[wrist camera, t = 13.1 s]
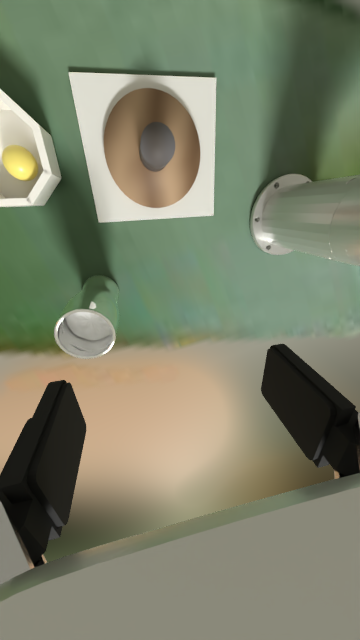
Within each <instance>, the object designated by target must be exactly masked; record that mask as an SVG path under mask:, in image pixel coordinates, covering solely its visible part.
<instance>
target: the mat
mask: <svg viewBox="0 0 360 640" xmlns="http://www.w3.org/2000/svg"><path fill="white" fill-rule="evenodd" d="M68 73H69V78H70V83H71V87H72V92H73V97H74V102H75V107H76V112H77V117H78V122H79V127H80V132H81V137H82V142H83V147H84V152H85V157H86V162H87V167H88V172H89V177H90V182H91V186H92V191H93V196H94V201H95V206H96V211H97V216H98V221H99V223H100V222H116V221H132V220H148V219H164V218H180V217H196V216H212V215H214V165H215V116H216V78H209V77H183V76H158V75H132V74H107V73H81V72H68ZM141 88H154V89H158V90H161V91H164V92H166V93H168V94H170V95H171V96H173V97H174V98H176V99H177V100H178V101H179V102H180V103H181V104H182V105H183V106H184V108H185V109H186V110H187V111H188V113H189V115H190V116H191V118H192V120H193V122H194V124H195V127H196V130H197V133H198V137H199V142H200V165H199V170H198V174H197V177H196V179H195V182H194V183H193V185H192V187H191V189H190V190H189V191H188V193H187V194H186V195H185V196H184V197H183V198H182V199H181V200H179V201H178V202H176V203H175V204H172V205H170V206H167V207H162V208H150V207H145V206H142V205H140V204H138V203H136V202H134V201H132V200H131V199H130V198H128V197H127V196H126V195H125V194H124V193H123V192H122V191H121V190H120V189H119V187H118V186H117V184H116V183H115V181H114V179H113V178H112V176H111V174H110V171H109V169H108V166H107V163H106V159H105V154H104V131H105V126H106V122H107V120H108V117H109V114H110V113H111V111H112V109H113V107H114V106H115V105H116V103H117V102H118V101H119V100H120V99H121V98H122V97H123V96H125V95H126V94H128V93H129V92H132V91H134V90H137V89H141Z"/></svg>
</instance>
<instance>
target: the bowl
mask: <svg viewBox="0 0 360 640" xmlns="http://www.w3.org/2000/svg"><path fill="white" fill-rule="evenodd" d="M9 145H19V146H22V147H24V148H25V149H27V150H28V151H29V152H30V153H31V154H32V155H33V156H34V157H35V159H36V161H37V164H38V174H37V176H36V177H35V178H34V179H33V180H30V181H22V180H19V179H17V178H15V177H13V176H12V175H11V174H10V173H9V172H8V171H7V170H6V168H5V167H4V164H3V162H2V152H3V150H4V149H5V148H6V147H7V146H9ZM61 178H62V177H61V173H60V169H59V165H58V161H57V157H56V153H55V149H54V145H53V141H52V137H51V135H50V134H49V133H48V132H47V131H45V130H44V129H43V128H42V127H41V126H40V125H39V124H38V123H37V122H36V121H35V120H34V119H33V118H31V117H30V116H29V115H28V114H27V113H26V112H25V111H24V110H23V109H22V108H21V107H20V106H19V105H17V104H16V103H15V102H14V101H13V100H12V99H11V98H10V97H9V96H8V95H7V94H5V93H4V92H3V91H2V90H1V89H0V207H22V206H44V205H45V204H46V202H47V200H48V199H49V197H50V196H51V194H52V193H53V191H54V189H55V188H56V186H57V185H58V183H59V182H60V180H61Z"/></svg>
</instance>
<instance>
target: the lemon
mask: <svg viewBox="0 0 360 640" xmlns="http://www.w3.org/2000/svg"><path fill="white" fill-rule="evenodd" d="M2 162H3V164H4V167H5V168H6V170H7V171H8V172H9V173H10V174H11V175H12V176H13V177H15V178H17V179H19V180H22V181H30V180H33V179H34V178H35V177H36V176H37V174H38V164H37V161H36V159H35V157H34V156H33V155H32V154H31V153H30V152H29V151H28V150H27V149H25V148H24V147H22V146H19V145H9V146H7V147H6V148H5V149H4V150H3V152H2Z"/></svg>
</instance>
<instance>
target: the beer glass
mask: <svg viewBox="0 0 360 640" xmlns="http://www.w3.org/2000/svg"><path fill="white" fill-rule="evenodd" d="M118 298H119V288H118V286H117V284H116V283H115V282H114V281H113V280H112V279H111V278H109V277H107V276H103V275H96V276H92V277H90V278H88V279H87V280H86V281H85V283H84V285H83V288H82V291H80V292H79V293H77V294H76V295H75V296H74V297H72V298H71V299H70V300H69V302H68V303H67V304H66V306H65V307H64V309H63V311H62V313H61V315H60V317H59V319H58V321H57V323H56V325H55V329H54V336H55V340H56V342H57V344H58V345H59V347H60V348H61V349H62V350H63V351H65V352H66V353H67V354H69V355H71V356H74V357H77V358H82V359H92V358H97V357H100V356H102V355H104V354H105V353H107V352H108V351H109V350H110V349H111V348H112V346H113V345H114V342H115V338H116V334H117V330H118V325H119V310H118V306H117V303H116V302H117V301H118Z"/></svg>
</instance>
